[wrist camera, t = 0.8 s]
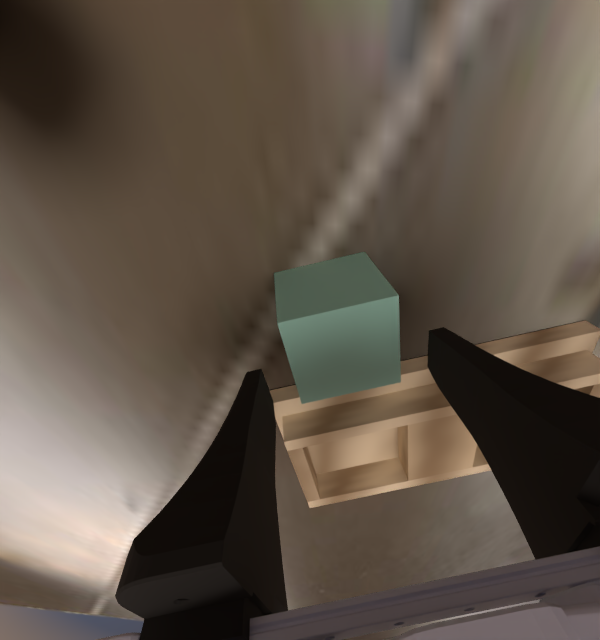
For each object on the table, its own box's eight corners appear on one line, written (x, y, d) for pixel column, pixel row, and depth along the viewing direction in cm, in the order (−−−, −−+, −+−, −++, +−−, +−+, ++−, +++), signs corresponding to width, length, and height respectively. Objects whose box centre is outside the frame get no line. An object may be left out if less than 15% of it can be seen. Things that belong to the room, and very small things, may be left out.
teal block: (364, 251, 16) (398, 295, 12) (370, 325, 19) (401, 382, 15) (273, 272, 16) (277, 323, 12) (293, 343, 19) (301, 404, 15)
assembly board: (585, 320, 20) (634, 349, 18) (542, 428, 27) (573, 462, 24) (269, 390, 21) (270, 429, 18) (303, 479, 28) (307, 517, 25)
